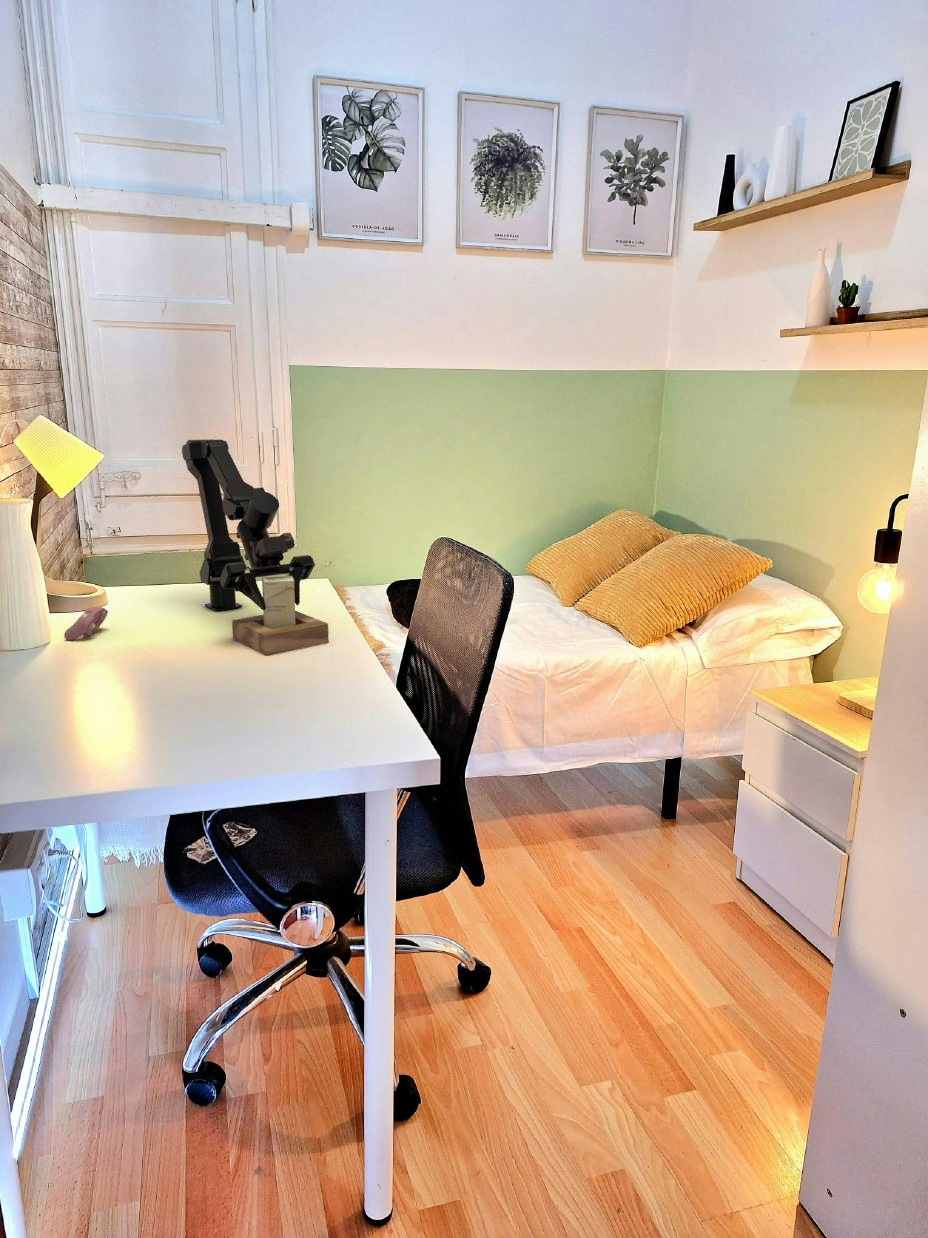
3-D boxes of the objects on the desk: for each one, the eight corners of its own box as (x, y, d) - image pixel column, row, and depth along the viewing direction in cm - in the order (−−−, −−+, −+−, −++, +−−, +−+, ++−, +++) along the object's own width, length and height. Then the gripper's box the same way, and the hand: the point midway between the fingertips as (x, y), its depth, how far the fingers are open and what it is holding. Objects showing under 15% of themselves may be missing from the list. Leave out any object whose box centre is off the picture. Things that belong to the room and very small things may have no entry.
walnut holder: (233, 639, 172) (231, 620, 171) (293, 627, 181) (292, 609, 180) (266, 655, 162) (265, 635, 160) (328, 642, 170) (328, 623, 169)
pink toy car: (82, 649, 169) (94, 619, 167) (60, 638, 168) (73, 609, 167) (103, 635, 178) (115, 607, 177) (82, 625, 178) (94, 597, 176)
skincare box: (265, 641, 168) (262, 581, 165) (264, 634, 172) (260, 576, 169) (297, 638, 170) (294, 580, 167) (295, 632, 174) (292, 575, 171)
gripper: (221, 523, 162) (246, 590, 157) (309, 516, 173) (336, 579, 168) (209, 556, 171) (233, 621, 165) (294, 547, 181) (319, 608, 176)
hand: (281, 606), depth 168 cm, fingers closed on skincare box, 7 cm apart
